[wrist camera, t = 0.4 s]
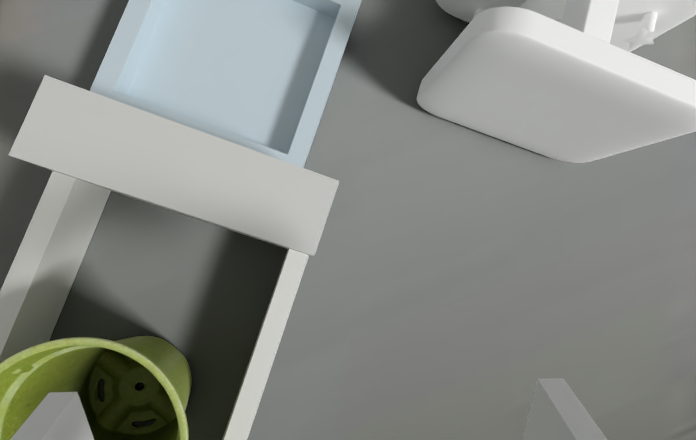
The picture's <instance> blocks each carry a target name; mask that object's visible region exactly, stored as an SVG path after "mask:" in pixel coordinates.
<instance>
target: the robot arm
mask: <svg viewBox="0 0 696 440" xmlns="http://www.w3.org/2000/svg"><path fill="white" fill-rule="evenodd" d="M10 440H94V438H93V435H92V432H91V429H90V426H89V423H88V421H87V418H86V415H85V412H84V409H83V406H82V404H81V401H80V398H79V395H78V392H51V393H48V395H47V396H46V397H45V398H44V399H43V401H42V402H41V403H40V404H39V405H38V407H37V408H36V409H35V410H34V411H33V413H32V414H31V415H30V416H29V417H28V419H27V420H26V421H25V422H24V423H23V425H22V426H21V427H20V428H19V429H18V431H17V432H16V433H15V434H14V435H13V437H12V438H11V439H10ZM522 440H607V439H606V437H605V436H604V434H603V433H602V432H601V430H600V429H599V427H598V426H597V425H596V423H595V422H594V420H593V419H592V418H591V416H590V415H589V413H588V412H587V411H586V409H585V408H584V406H583V405H582V404H581V402H580V401H579V399H578V398H577V397H576V395H575V394H574V392H573V391H572V390H571V388H570V387H569V386H568V384H567V383H566V381H565V380H564V379H563V378H555V379H538V380H537V384H536V388H535V392H534V396H533V400H532V404H531V408H530V412H529V415H528V419H527V423H526V427H525V431H524V435H523V439H522Z"/></svg>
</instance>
